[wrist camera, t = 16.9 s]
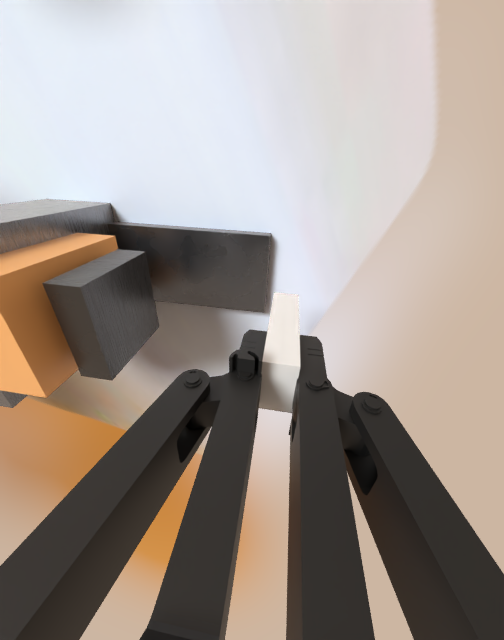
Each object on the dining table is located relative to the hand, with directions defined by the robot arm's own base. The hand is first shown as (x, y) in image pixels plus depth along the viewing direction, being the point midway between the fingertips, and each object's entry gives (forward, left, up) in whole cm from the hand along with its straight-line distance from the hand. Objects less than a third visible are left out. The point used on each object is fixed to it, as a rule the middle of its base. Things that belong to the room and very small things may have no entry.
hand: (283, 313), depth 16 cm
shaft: (-17, 0, -1) cm, 17 cm away
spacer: (-14, 0, -3) cm, 15 cm away
